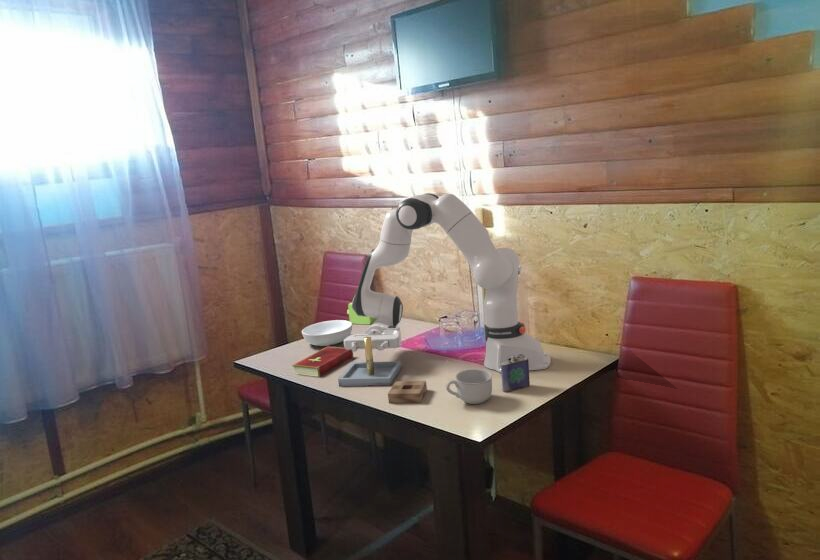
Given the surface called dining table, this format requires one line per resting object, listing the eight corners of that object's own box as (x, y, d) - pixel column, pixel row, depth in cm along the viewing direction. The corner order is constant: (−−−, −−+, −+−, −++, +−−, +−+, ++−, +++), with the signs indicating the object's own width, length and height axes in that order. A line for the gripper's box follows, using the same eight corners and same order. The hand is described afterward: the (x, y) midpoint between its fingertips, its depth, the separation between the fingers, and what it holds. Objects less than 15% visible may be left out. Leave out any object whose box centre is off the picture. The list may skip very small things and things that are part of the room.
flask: (505, 393, 187) (502, 359, 184) (500, 390, 189) (497, 357, 187) (531, 386, 189) (529, 353, 187) (526, 383, 192) (524, 350, 190)
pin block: (427, 389, 196) (426, 380, 195) (420, 402, 186) (419, 393, 186) (396, 390, 198) (395, 381, 198) (388, 402, 189) (387, 393, 188)
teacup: (490, 391, 189) (488, 366, 188) (496, 405, 179) (494, 379, 177) (445, 396, 189) (442, 372, 187) (449, 411, 178) (446, 385, 177)
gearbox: (389, 319, 284) (387, 299, 282) (378, 325, 275) (377, 304, 274) (355, 318, 292) (353, 298, 290) (344, 323, 283) (342, 303, 282)
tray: (401, 367, 218) (401, 361, 217) (390, 385, 203) (389, 378, 202) (353, 369, 222) (352, 362, 222) (339, 386, 207) (338, 379, 206)
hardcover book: (353, 358, 235) (352, 347, 235) (319, 378, 218) (317, 367, 217) (328, 355, 242) (327, 345, 241) (293, 375, 224) (291, 364, 223)
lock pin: (375, 372, 213) (371, 336, 211) (373, 375, 211) (369, 338, 208) (368, 372, 214) (365, 336, 211) (366, 375, 211) (363, 338, 209)
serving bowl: (333, 332, 272) (331, 317, 271) (364, 339, 257) (362, 323, 256) (294, 346, 258) (291, 330, 256) (324, 354, 243) (321, 337, 242)
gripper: (349, 328, 224) (336, 340, 211) (403, 326, 220) (394, 338, 206) (351, 345, 226) (339, 358, 213) (405, 343, 221) (396, 356, 208)
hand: (366, 348), depth 209 cm, fingers open, 8 cm apart
